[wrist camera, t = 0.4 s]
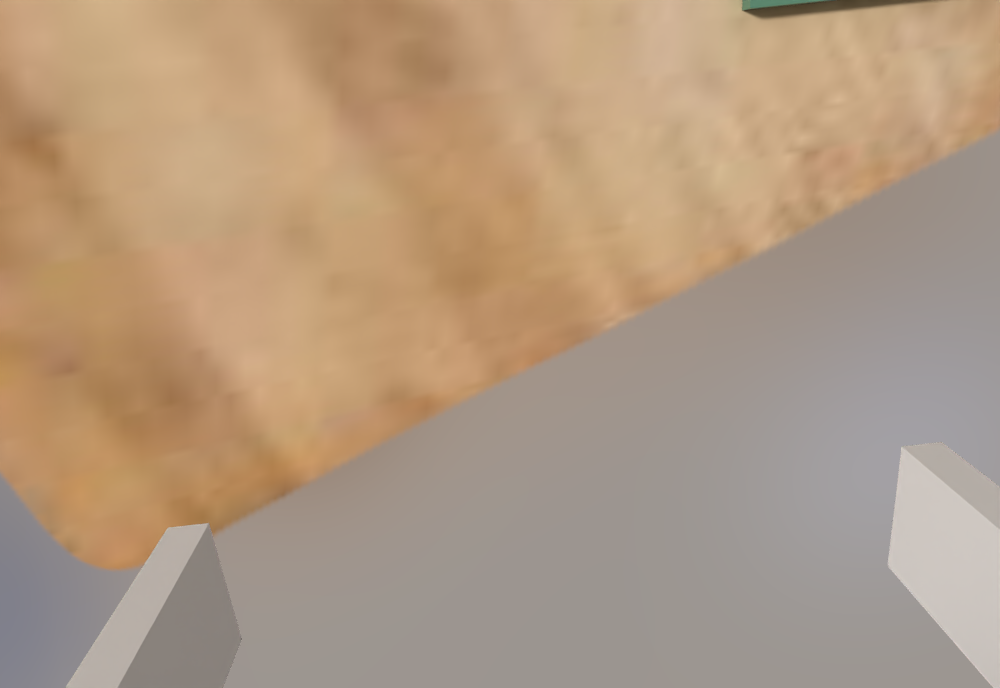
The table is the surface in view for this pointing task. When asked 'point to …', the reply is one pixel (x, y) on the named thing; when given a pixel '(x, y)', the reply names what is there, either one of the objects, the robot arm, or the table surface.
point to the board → (774, 3)
